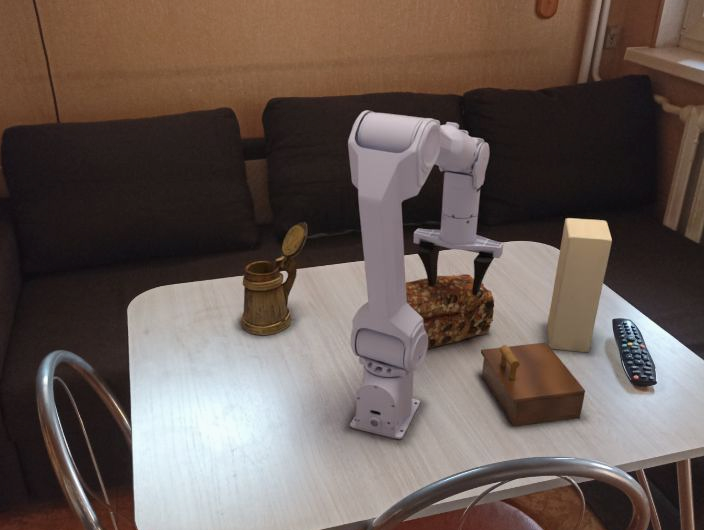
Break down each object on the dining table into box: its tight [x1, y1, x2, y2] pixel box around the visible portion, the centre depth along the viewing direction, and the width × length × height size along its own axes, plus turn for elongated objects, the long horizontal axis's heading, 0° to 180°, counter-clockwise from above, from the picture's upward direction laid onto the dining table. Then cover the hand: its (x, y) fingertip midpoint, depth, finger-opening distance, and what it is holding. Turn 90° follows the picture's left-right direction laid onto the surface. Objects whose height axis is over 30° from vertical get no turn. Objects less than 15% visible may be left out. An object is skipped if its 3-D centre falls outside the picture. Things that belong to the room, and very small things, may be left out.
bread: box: [406, 273, 495, 349], centre depth 122 cm, size 19×11×10 cm, turn 112°
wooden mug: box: [241, 221, 308, 336], centre depth 125 cm, size 9×14×18 cm, turn 118°
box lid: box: [480, 342, 586, 403], centre depth 105 cm, size 11×13×4 cm
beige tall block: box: [546, 217, 613, 353], centre depth 117 cm, size 8×7×21 cm
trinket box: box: [481, 357, 586, 427], centre depth 107 cm, size 10×13×4 cm
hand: (453, 288), depth 118 cm, fingers open, 7 cm apart
